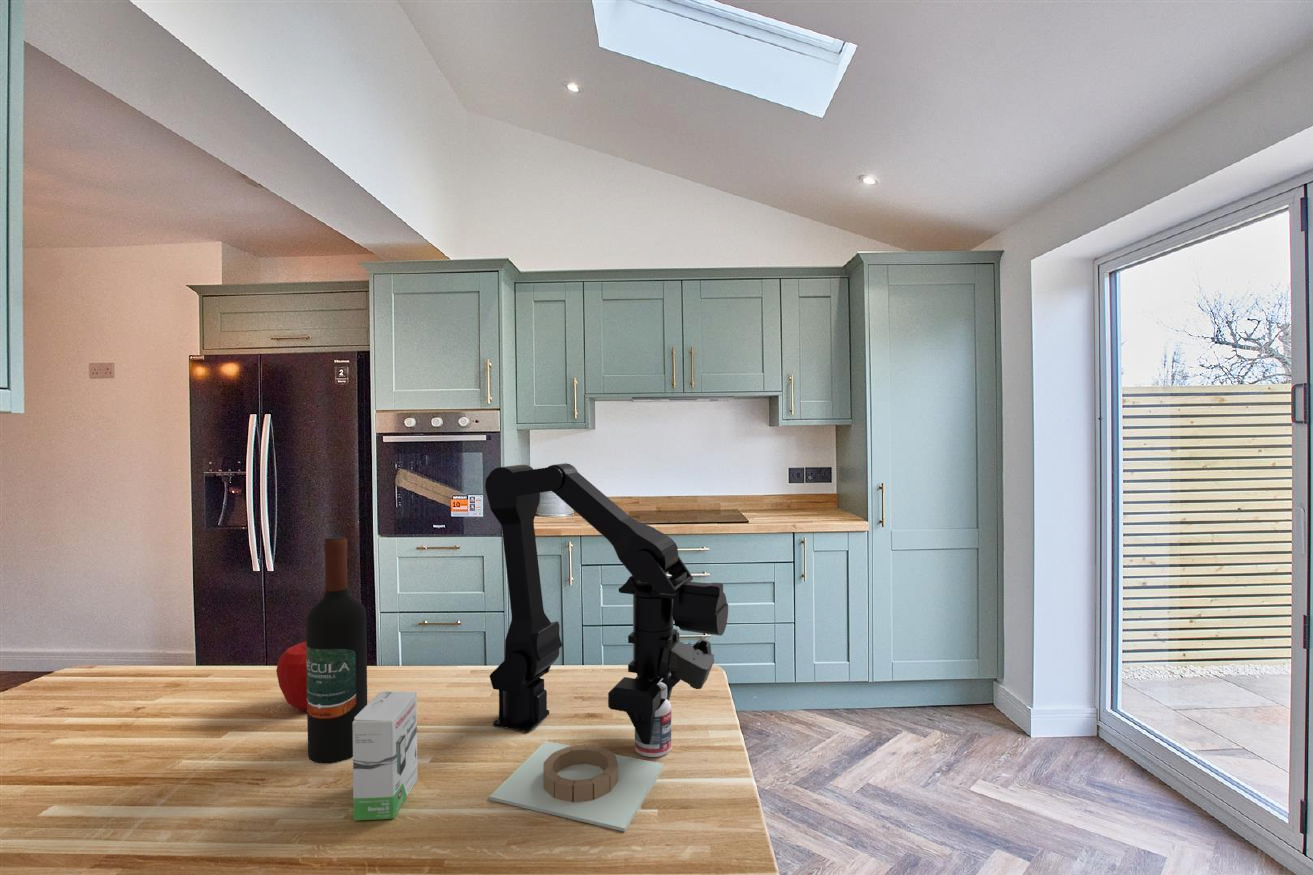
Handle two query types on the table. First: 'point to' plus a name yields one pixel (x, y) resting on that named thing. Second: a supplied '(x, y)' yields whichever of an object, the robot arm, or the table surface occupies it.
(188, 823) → the table surface
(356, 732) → the ink box
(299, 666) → the apple
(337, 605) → the wine bottle
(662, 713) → the pill bottle
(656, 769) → the collar board
